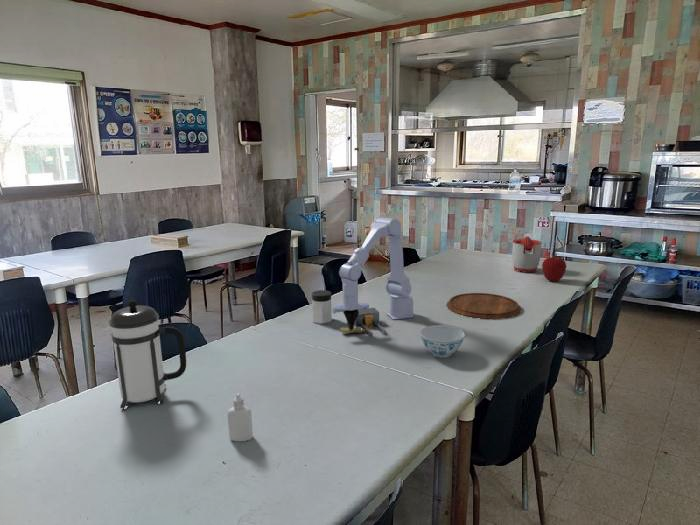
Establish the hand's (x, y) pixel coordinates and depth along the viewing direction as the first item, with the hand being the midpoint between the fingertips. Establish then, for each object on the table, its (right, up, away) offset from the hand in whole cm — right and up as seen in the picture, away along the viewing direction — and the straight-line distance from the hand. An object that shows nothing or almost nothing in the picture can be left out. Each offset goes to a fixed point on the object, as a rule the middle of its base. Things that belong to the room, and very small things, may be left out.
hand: (350, 328), depth 188 cm
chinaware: (+32, -6, -20) cm, 38 cm away
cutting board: (+59, +5, +28) cm, 66 cm away
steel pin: (+5, +1, +13) cm, 14 cm away
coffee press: (-59, -14, -46) cm, 76 cm away
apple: (+107, +16, +68) cm, 128 cm away
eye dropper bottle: (-28, -19, -67) cm, 75 cm away
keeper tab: (+1, -1, 0) cm, 1 cm away
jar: (-12, +1, +15) cm, 19 cm away
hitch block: (+8, -1, +6) cm, 10 cm away
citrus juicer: (+100, +21, +90) cm, 136 cm away
